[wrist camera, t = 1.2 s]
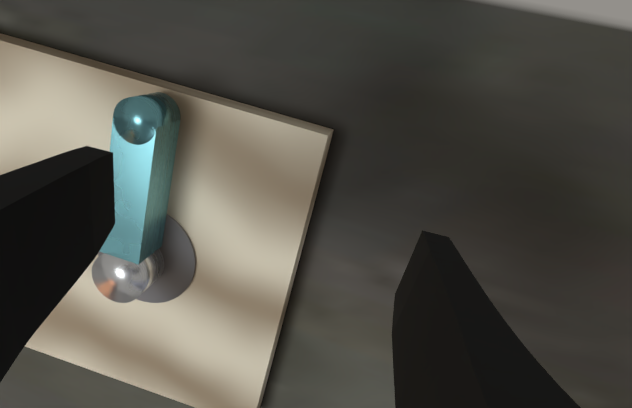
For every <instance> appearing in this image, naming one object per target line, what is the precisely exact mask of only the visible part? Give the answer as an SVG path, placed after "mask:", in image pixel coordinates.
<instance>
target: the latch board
mask: <svg viewBox="0 0 632 408" xmlns="http://www.w3.org/2000/svg"><path fill="white" fill-rule="evenodd" d="M155 92H161V93H165V94H167V95H169V96H170V97H172V98H173V99H174V100H175V102H176V103H177V105H178V107H179V110H180V114H181V119H180V126H179V133H178V140H177V147H176V154H175V160H174V167H173V174H172V181H171V187H170V194H169V201H168V208H167V215H166V221H165V228H164V235H163V242H162V246H161V247H160V248H159V250H160V251H161V253H162V255H163V259H164V270H163V273H162V274H161V276H160V277H159V278H158V279H157V280H156V281H155V282H154V283H153V284H152V285H150V286H149V287H148V288H147V289H146V290H145V291H144V292H143V293H142V294H141V295H140V296H138V297H137V298H136V299H135V300H133V301H131V302H128V303H118V302H114V301H112V300H110V299H108V298H106V297H105V296H104V295H103V294H102V293H101V292H100V291H99V290H98V289H97V287H96V286H95V284H94V281H93V278H92V266H93V263H94V261H95V260H96V259H97V258H98V257H99V256H100V255H102V254H103V253H102V252H100V251H99V252H98V254H97V256H96V257H95V259H94V260H93V261H92V263H91V264H90V265H89V266H88V268H87V269H86V270H85V271H84V273H83V274H82V275H81V276H80V278H79V279H78V280H77V281H76V283H75V284H74V285H73V286H72V288H71V289H70V290H69V291H68V292H67V294H66V295H65V296H64V297H63V299H62V300H61V301H60V302H59V303H58V305H57V306H56V307H55V308H54V310H53V311H52V312H51V313H50V315H49V316H48V317H47V318H46V319H45V321H44V322H43V323H42V324H41V326H40V327H39V328H38V329H37V330H36V332H35V333H34V334H33V335H32V337H31V338H30V339H29V341H28V342H27V343H26V345H25V347H28V348H31V349H34V350H37V351H39V352H42V353H45V354H48V355H50V356H53V357H56V358H59V359H62V360H64V361H67V362H70V363H73V364H76V365H78V366H81V367H84V368H87V369H90V370H92V371H95V372H98V373H101V374H103V375H106V376H109V377H112V378H115V379H117V380H120V381H123V382H126V383H129V384H131V385H134V386H137V387H140V388H143V389H145V390H148V391H151V392H154V393H156V394H159V395H162V396H165V397H168V398H170V399H173V400H176V401H179V402H182V403H184V404H187V405H190V406H193V407H196V408H260V406H261V403H262V399H263V395H264V391H265V388H266V384H267V380H268V376H269V372H270V369H271V365H272V361H273V357H274V354H275V350H276V346H277V342H278V339H279V335H280V331H281V327H282V323H283V320H284V316H285V312H286V308H287V305H288V301H289V297H290V293H291V289H292V286H293V282H294V278H295V274H296V271H297V267H298V263H299V259H300V255H301V252H302V248H303V244H304V240H305V237H306V233H307V229H308V225H309V222H310V218H311V214H312V210H313V206H314V203H315V199H316V195H317V191H318V188H319V184H320V180H321V176H322V172H323V169H324V165H325V161H326V157H327V154H328V150H329V146H330V142H331V139H332V135H333V131H334V129H330V128H327V127H323V126H320V125H316V124H313V123H309V122H306V121H303V120H299V119H296V118H292V117H289V116H285V115H282V114H278V113H275V112H271V111H268V110H265V109H261V108H258V107H254V106H251V105H247V104H244V103H240V102H237V101H233V100H230V99H226V98H223V97H220V96H216V95H213V94H209V93H206V92H202V91H199V90H195V89H192V88H188V87H185V86H182V85H178V84H175V83H171V82H168V81H164V80H161V79H157V78H154V77H150V76H147V75H143V74H140V73H137V72H133V71H130V70H126V69H123V68H119V67H116V66H112V65H109V64H105V63H102V62H98V61H95V60H92V59H88V58H85V57H81V56H78V55H74V54H71V53H67V52H64V51H60V50H57V49H54V48H50V47H47V46H43V45H40V44H36V43H33V42H29V41H26V40H22V39H19V38H15V37H12V36H9V35H5V34H2V33H0V175H2V174H4V173H7V172H10V171H13V170H16V169H19V168H22V167H24V166H27V165H30V164H33V163H36V162H39V161H41V160H44V159H47V158H50V157H53V156H56V155H59V154H61V153H64V152H67V151H71V150H74V149H77V148H81V147H85V146H89V147H93V148H97V149H101V150H105V151H109V152H110V142H111V131H112V121H113V112H114V109H115V107H116V105H117V104H118V103H119V102H120V101H121V100H123V99H125V98H128V97H133V96H139V95H144V94H150V93H155Z"/></svg>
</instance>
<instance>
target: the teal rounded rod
mask: <svg viewBox="0 0 632 408" xmlns="http://www.w3.org/2000/svg"><path fill="white" fill-rule="evenodd" d="M180 119H181V114H180V110H179V107H178V105H177V103H176V102H175V100H174V99H173V98H172V97H170V96H169V95H167V94H165V93H161V92H155V93H150V94H144V95H139V96H133V97H128V98H125V99H123V100H121V101H120V102H119V103H118V104H117V105H116V107H115V109H114V112H113V121H112V131H111V142H110V152H113V167H114V199H115V225H114V227H113V229H112V230H111V232H110V234H109V236H108V237H107V239H106V241H105V243H104V244H103V246H102V247H101V249H100V252H102V253H103V254H102V255H100V256H99V257H98V258H97V259H96V260H95V261H94V263H93V266H92V278H93V281H94V284H95V286H96V287H97V289H98V290H99V291H100V292H101V293H102V294H103V295H104V296H105V297H106V298H108V299H110V300H112V301H114V302H118V303H128V302H131V301H133V300H135V299H136V298H137V297H138V296H140V295H141V294H142V293H143V292H144V291H145V290H146V289H147V288H148V287H149V286H150V285H152V284H153V283H154V282H155V281H156V280H157V279H158V278H159V277H160V276H161V274H162V273H163V270H164V259H163V255H162V253H161V251H160V250H159V248H160V247H161V246H162V242H163V235H164V228H165V221H166V215H167V208H168V201H169V194H170V187H171V181H172V174H173V167H174V160H175V154H176V147H177V140H178V133H179V126H180Z"/></svg>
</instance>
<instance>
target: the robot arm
mask: <svg viewBox="0 0 632 408" xmlns="http://www.w3.org/2000/svg"><path fill="white" fill-rule="evenodd" d="M114 225H115V199H114V167H113V152H109V151H105V150H101V149H97V148H93V147H89V146H85V147H81V148H77V149H74V150H71V151H67V152H64V153H61V154H59V155H56V156H53V157H50V158H47V159H44V160H41V161H39V162H36V163H33V164H30V165H27V166H24V167H22V168H19V169H16V170H13V171H10V172H7V173H4V174H2V175H0V382H1V380H2V379H3V377H4V376H5V374H6V373H7V371H8V370H9V368H10V367H11V365H12V364H13V362H14V361H15V359H16V358H17V356H18V354H19V353H20V352H21V350H22V349H23V348H24V346H25V345H26V343H27V342H28V341H29V339H30V338H31V337H32V335H33V334H34V333H35V332H36V330H37V329H38V328H39V327H40V326H41V324H42V323H43V322H44V321H45V319H46V318H47V317H48V316H49V315H50V313H51V312H52V311H53V310H54V308H55V307H56V306H57V305H58V303H59V302H60V301H61V300H62V299H63V297H64V296H65V295H66V294H67V292H68V291H69V290H70V289H71V288H72V286H73V285H74V284H75V283H76V281H77V280H78V279H79V278H80V276H81V275H82V274H83V273H84V271H85V270H86V269H87V268H88V266H89V265H90V264H91V263H92V261H93V260H94V259H95V257H96V256H97V254H98V252H99V251H100V249H101V247H102V246H103V244H104V243H105V241H106V239H107V237H108V236H109V234H110V232H111V230H112V229H113V227H114ZM392 346H393V368H394V386H395V405H396V408H581V407H580V406H578V405H577V404H576V403H575V402H574V401H573V400H572V398H571V397H570V396H569V395H568V394H567V393H566V392H565V391H564V390H563V389H562V388H561V387H560V386H559V385H558V384H557V383H556V382H555V380H554V379H553V378H552V377H551V376H550V375H549V374H548V373H547V372H546V370H545V369H544V368H543V367H542V366H541V365H540V364H539V363H538V361H537V360H536V359H535V358H534V357H533V356H532V355H531V353H530V352H529V351H528V350H527V349H526V347H525V346H524V345H523V344H522V342H521V341H520V340H519V338H518V337H517V336H516V335H515V333H514V332H513V331H512V329H511V328H510V327H509V326H508V324H507V323H506V322H505V320H504V319H503V318H502V316H501V315H500V313H499V312H498V311H497V309H496V308H495V307H494V305H493V304H492V302H491V301H490V299H489V298H488V296H487V295H486V294H485V292H484V291H483V289H482V288H481V286H480V285H479V283H478V282H477V280H476V279H475V277H474V275H473V274H472V272H471V271H470V269H469V268H468V266H467V265H466V263H465V262H464V260H463V258H462V257H461V255H460V254H459V252H458V251H457V249H456V247H455V246H454V244H453V243H452V241H451V240H450V239H449V237H446V236H442V235H438V234H434V233H430V232H426V231H422V233H421V235H420V238H419V240H418V242H417V245H416V247H415V249H414V252H413V254H412V256H411V258H410V261H409V263H408V265H407V268H406V270H405V272H404V275H403V277H402V279H401V282H400V284H399V286H398V289H397V291H396V293H395V301H394V312H393V326H392Z"/></svg>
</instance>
